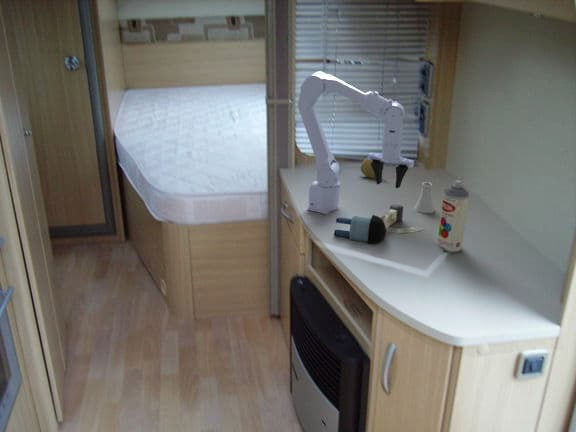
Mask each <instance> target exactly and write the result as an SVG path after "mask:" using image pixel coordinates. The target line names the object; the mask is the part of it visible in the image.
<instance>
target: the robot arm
mask: <svg viewBox="0 0 576 432" xmlns="http://www.w3.org/2000/svg"><path fill="white" fill-rule="evenodd" d="M323 93H324V95H329V94H338V95H341V96H343V97H344V98H347V99H350V100H351V101H354V102H356V103H359V104H360V108H361V109H362V110H364V111H366V112H368V113H370V114H372V115H374V116H376V117H378V118H380V119H382V118H383V120H384V127H383V131H382V145H381V146H382V147H381V153H375V152H369V153H368V154H367V158H368V160H373V161H372V163H371V166H372V168H373V171H374V173H375V177H376V178H375V184H376V185H380V184H381V183H382V181H383V170H384V165H385V164H386V163H387V164H390V165H397V166H396V167H395V173H396V174H395V175H396V176H395V177H396V179H395V188H396V189H399V188H400V187H401V185H402V182H403V179H404V177H405V175H406V173H407V171H408V170H409V169H411V168H413V167H414V164H415V160H413V159H409V158H406V157H402V156H401V153H402V151H401V150H402V143H403V142H402V140H403V126H404V122H403V120H404V117H405V107H404V106H403V105H402V104H401V103H400V102H398V101H394V100H393V99H392V98H389V99H387V98H385V97H383V96H381V95H380V93H379V92H378V91H368V92H364V91H361V90H360V89H357V88H356V87H354V86H352V85H351V84H348V83H346V82H345V81H343V80H341V79H339V78H338V77H336V76H333V75H332V74H329V73H328V74H327V73H325V72H324V71H320V70H319V71H318V70H317V71H315V72H313V73H311V75H309V76H307V77H306V78H305V79H304V81H303V82H302V84H301V86H300V92H299V96H298V99H297V100H298V101H297V109H298V112H299V114H300V117H301V120H302V122H303V125H304V129H305V131H306V134H307V138H308V141H309V144H310V146H311V149H312V152H313V155H314V157H315V169H316V180H315V181H312V182H311V183H310V186H309V190H308V207H307V208H306V209H307V210H308V211H313V212H316V213H320V214H324V215H328V214H330V213H331V212H333V211H337V210H338V209H339V208H340V190H341V189H340V186H341V181H339V176H340V175H341V172H342V167H341V165H340V164H339V162H338V161H337V160H336V158H335V156H334V154H333V153H332V151H331V150H330V146H329V143H328V140H327V137H326V133H325V131H324V129H323V126H322V122H321V119H320V117H319V116H320V115H319V113H318V111H317V108H316V104H317V102H318V100H319V99H320V96H321V95H323Z"/></svg>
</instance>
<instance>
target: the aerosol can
mask: <svg viewBox="0 0 576 432" xmlns="http://www.w3.org/2000/svg"><path fill="white" fill-rule="evenodd" d="M469 201H470V192H469V191H468V190H467V189H466V188H465V187H464V186H463V185H462V181H461V180H458V179H457V180H454V183H453V184H452V185H450V186H449V187H448V188H445V189H444V191H443V194H442V201H441V209H440V210H441V211H440V218H439V227H438V237H437V246H439V247H440V248H442V249H444V250H443V253H446V254H452V255H453V254H459V253H460V252H462V250H463V244H464V235H465V230H466V221H467V215H468V214H467V213H468V209H469V208H468V207H469Z"/></svg>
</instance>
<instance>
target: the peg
mask: <svg viewBox="0 0 576 432" xmlns="http://www.w3.org/2000/svg"><path fill="white" fill-rule="evenodd" d="M403 215H404V206H403V205H402V204H391V205H390V206H389V210H388V211H386V212H385V213H384V214H382V215H381V216H379V217H380V218H381V219H382V220H383V222H384V224H385V227H386V228H390V226H392V225H393V224H395V223H402V222H403Z"/></svg>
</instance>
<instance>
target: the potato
mask: <svg viewBox="0 0 576 432" xmlns="http://www.w3.org/2000/svg"><path fill="white" fill-rule="evenodd" d="M372 161H373V160H368V157H365V159H363V161H362V162H361V165H360V172H361V173H362V174H363V175H364V176H365V177H367V178H370V179H376V177H375V173H374V171H373V168H372V166H371V163H372Z"/></svg>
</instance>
